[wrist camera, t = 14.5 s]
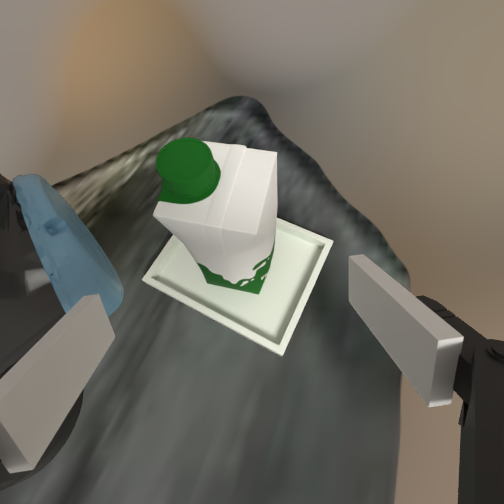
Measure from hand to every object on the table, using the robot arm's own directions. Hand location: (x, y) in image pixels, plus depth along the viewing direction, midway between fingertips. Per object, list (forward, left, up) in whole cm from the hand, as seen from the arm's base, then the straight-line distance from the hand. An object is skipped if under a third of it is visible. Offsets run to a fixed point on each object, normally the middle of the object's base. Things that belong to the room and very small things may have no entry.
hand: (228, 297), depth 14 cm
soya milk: (-6, +8, -21) cm, 23 cm away
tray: (-6, +8, -21) cm, 23 cm away
